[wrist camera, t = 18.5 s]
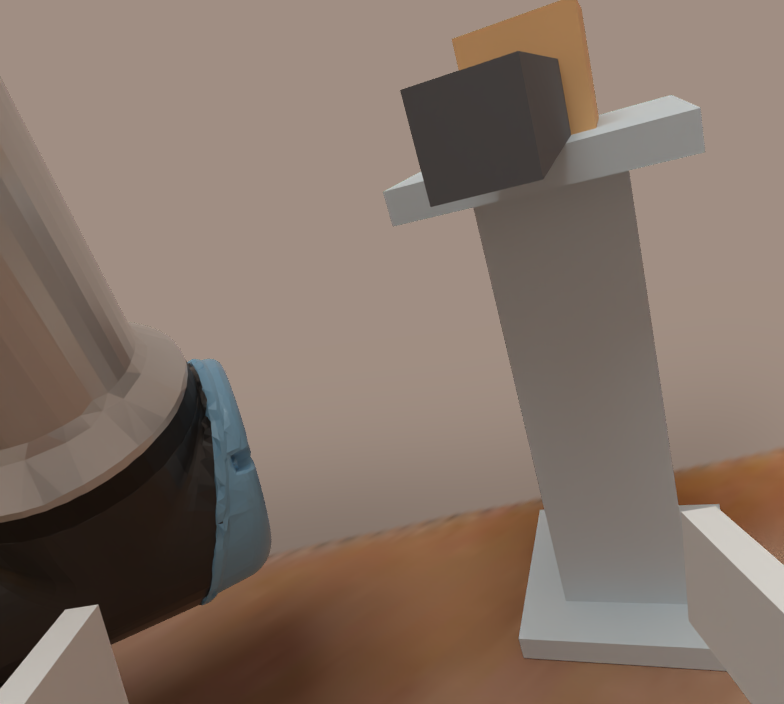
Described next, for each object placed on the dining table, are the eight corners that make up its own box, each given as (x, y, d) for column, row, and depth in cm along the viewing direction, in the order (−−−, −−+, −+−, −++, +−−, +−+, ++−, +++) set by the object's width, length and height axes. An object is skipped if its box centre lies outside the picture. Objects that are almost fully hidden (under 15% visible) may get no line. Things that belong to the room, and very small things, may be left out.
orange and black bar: (396, 215, 17) (341, 17, 15) (500, 145, 32) (478, 44, 31) (585, 169, 15) (544, -64, 13) (598, 118, 30) (581, 8, 29)
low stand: (520, 680, 34) (382, 191, 25) (543, 525, 46) (455, 153, 37) (763, 699, 30) (700, 107, 21) (721, 522, 41) (669, 94, 32)
